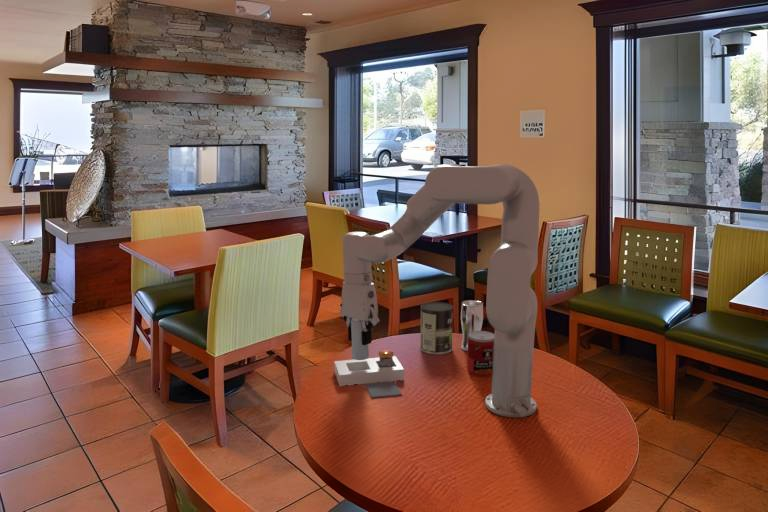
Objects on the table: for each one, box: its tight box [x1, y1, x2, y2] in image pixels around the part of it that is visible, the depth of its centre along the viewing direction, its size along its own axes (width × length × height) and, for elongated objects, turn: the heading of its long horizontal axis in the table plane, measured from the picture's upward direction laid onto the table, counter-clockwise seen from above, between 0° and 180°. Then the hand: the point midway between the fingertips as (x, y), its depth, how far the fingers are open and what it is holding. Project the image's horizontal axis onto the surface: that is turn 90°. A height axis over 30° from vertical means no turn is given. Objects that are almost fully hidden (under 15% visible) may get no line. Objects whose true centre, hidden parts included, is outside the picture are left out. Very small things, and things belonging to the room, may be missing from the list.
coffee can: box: [419, 301, 454, 355], centre depth 179 cm, size 10×10×14 cm
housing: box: [334, 355, 405, 387], centre depth 159 cm, size 10×18×3 cm, turn 103°
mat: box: [365, 381, 402, 399], centre depth 150 cm, size 8×8×1 cm
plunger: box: [378, 349, 394, 368], centre depth 160 cm, size 4×4×6 cm
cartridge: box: [351, 318, 370, 360], centre depth 156 cm, size 5×5×12 cm
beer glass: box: [460, 299, 484, 352], centre depth 179 cm, size 7×7×15 cm
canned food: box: [466, 330, 494, 378], centre depth 161 cm, size 8×8×11 cm
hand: (359, 341), depth 156 cm, fingers closed on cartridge, 4 cm apart
